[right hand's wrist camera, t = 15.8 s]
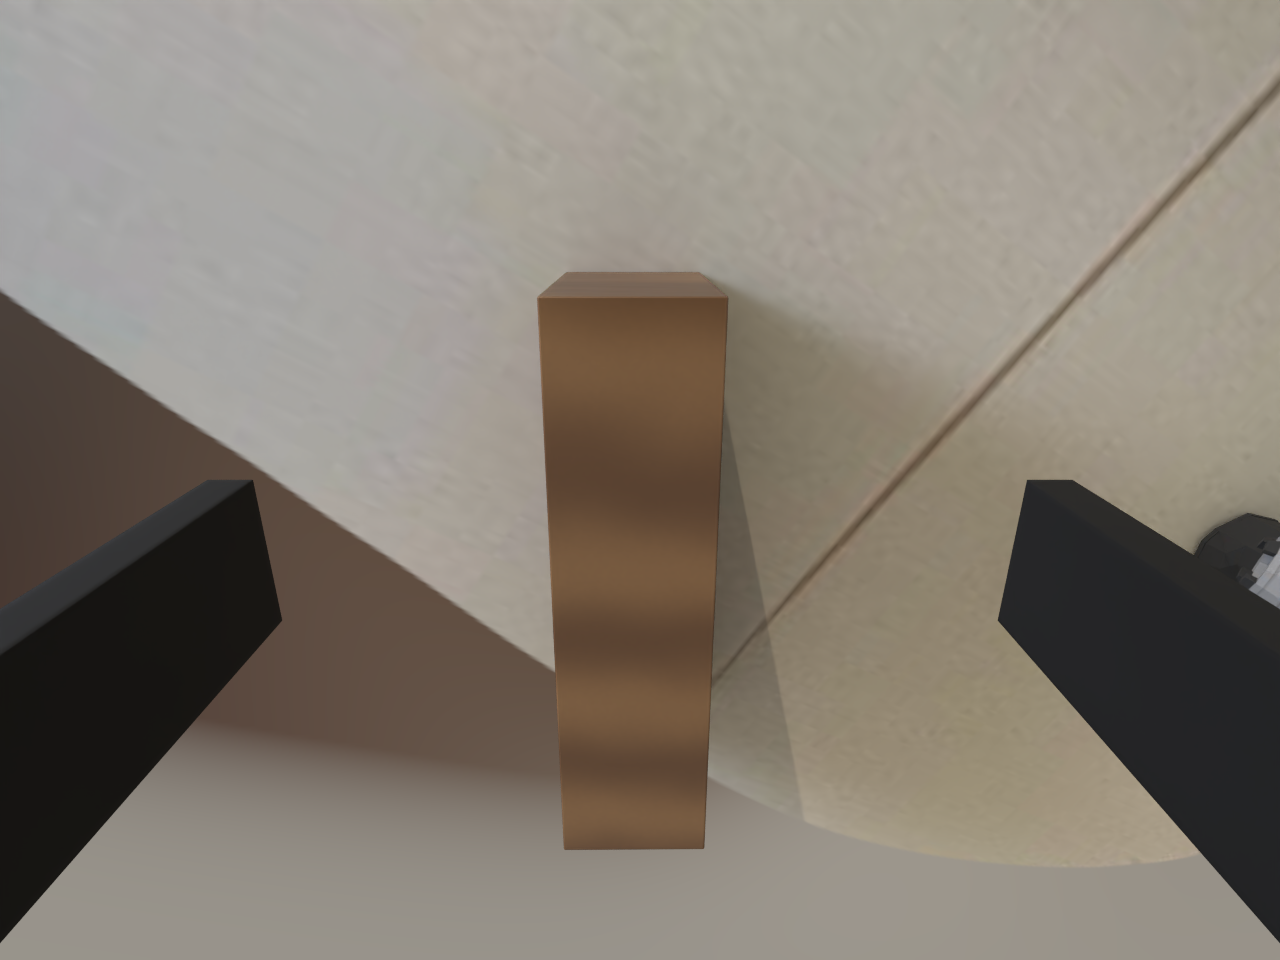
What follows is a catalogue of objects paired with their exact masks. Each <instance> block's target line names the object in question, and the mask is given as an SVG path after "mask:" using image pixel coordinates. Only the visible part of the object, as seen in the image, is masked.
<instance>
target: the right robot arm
mask: <svg viewBox="0 0 1280 960" xmlns="http://www.w3.org/2000/svg"><path fill="white" fill-rule="evenodd" d="M281 621H282V617H281V613H280V608H279V603H278V598H277V594H276V589H275V584H274V579H273V574H272V569H271V565H270V560H269V555H268V550H267V545H266V541H265V536H264V531H263V526H262V521H261V517H260V512H259V507H258V502H257V498H256V493H255V488H254V483H253V480H207V481H205V482H204V483H202V484H200V485H199V486H197V487H196V488H194V489H192V490H191V491H189V492H187V493H186V494H184V495H183V496H181V497H179V498H178V499H176V500H175V501H173V502H171V503H170V504H168V505H167V506H165V507H163V508H162V509H160V510H159V511H157V512H155V513H154V514H152V515H150V516H149V517H147V518H146V519H144V520H142V521H141V522H139V523H138V524H136V525H135V526H133V527H131V528H130V529H128V530H126V531H125V532H123V533H122V534H120V535H118V536H117V537H115V538H114V539H112V540H110V541H109V542H107V543H105V544H104V545H102V546H101V547H99V548H97V549H96V550H94V551H93V552H91V553H89V554H88V555H86V556H85V557H83V558H81V559H80V560H78V561H77V562H75V563H73V564H72V565H70V566H68V567H67V568H65V569H64V570H62V571H60V572H59V573H57V574H56V575H54V576H52V577H51V578H49V579H48V580H46V581H44V582H43V583H41V584H39V585H38V586H36V587H35V588H33V589H32V590H30V591H28V592H27V593H25V594H23V595H22V596H20V597H19V598H17V599H15V600H14V601H12V602H11V603H9V604H7V605H6V606H4V607H3V608H1V609H0V943H1V941H2V940H3V939H4V938H5V937H6V936H7V935H8V933H9V932H10V931H11V930H12V929H13V928H14V927H15V925H16V924H17V923H18V922H19V921H20V920H21V919H22V917H23V916H24V915H25V914H26V913H27V912H28V911H29V909H30V908H31V907H32V906H33V905H34V904H35V903H36V901H37V900H38V899H39V898H40V897H41V896H42V895H43V893H44V892H45V891H46V890H47V889H48V888H49V887H50V885H51V884H52V883H53V882H54V881H55V880H56V879H57V877H58V876H59V875H60V874H61V873H62V872H63V870H64V869H65V868H66V867H67V866H68V865H69V864H70V863H71V861H72V860H73V859H74V858H75V857H76V856H77V855H78V853H79V852H80V851H81V850H82V849H83V848H84V846H85V845H86V844H87V843H88V842H89V841H90V840H91V839H92V837H93V836H94V835H95V834H96V833H97V832H98V830H99V829H100V828H101V827H102V826H103V825H104V824H105V822H106V821H107V820H108V819H109V818H110V817H111V816H112V814H113V813H114V812H115V811H116V810H117V809H118V808H119V806H120V805H121V804H122V803H123V802H124V801H125V800H126V798H127V797H128V796H129V795H130V794H131V793H132V792H133V790H134V789H135V788H136V787H137V786H138V785H139V784H140V782H141V781H142V780H143V779H144V778H145V777H146V776H147V774H148V773H149V772H150V771H151V770H152V769H153V768H154V766H155V765H156V764H157V763H158V762H159V761H160V760H161V758H162V757H163V756H164V755H165V754H166V753H167V752H168V750H169V749H170V748H171V747H172V746H173V745H174V744H175V742H176V741H177V740H178V739H179V738H180V737H181V736H182V734H183V733H184V732H185V731H186V730H187V729H188V728H189V726H190V725H191V724H192V723H193V722H194V721H195V720H196V718H197V717H198V716H199V715H200V714H201V713H202V711H203V710H204V709H205V708H206V707H207V706H208V705H209V704H210V702H211V701H212V700H213V699H214V698H215V697H216V696H217V694H218V693H219V692H220V691H221V690H222V689H223V688H224V686H225V685H226V684H227V683H228V682H229V681H230V679H231V678H232V677H233V676H234V675H235V674H236V673H237V672H238V670H239V669H240V668H241V667H242V666H243V665H244V663H245V662H246V661H247V660H248V659H249V658H250V657H251V655H252V654H253V653H254V652H255V651H256V650H257V649H258V647H259V646H260V645H261V644H262V643H263V642H264V641H265V640H266V638H267V637H268V636H269V635H270V634H271V633H272V631H273V630H274V629H275V628H276V627H277V626H278V625H279V623H280V622H281ZM998 621H999V622H1000V623H1001V625H1002V626H1003V627H1004V628H1005V629H1006V630H1007V631H1008V633H1009V634H1010V635H1011V636H1012V637H1013V638H1014V639H1015V641H1016V642H1017V643H1018V644H1019V645H1020V646H1021V648H1022V649H1023V650H1024V651H1025V652H1026V653H1027V654H1028V656H1029V657H1030V658H1031V659H1032V660H1033V661H1034V662H1035V664H1036V665H1037V666H1038V667H1039V668H1040V669H1041V670H1042V672H1043V673H1044V674H1045V675H1046V676H1047V677H1048V678H1049V680H1050V681H1051V682H1052V683H1053V684H1054V685H1055V686H1056V688H1057V689H1058V690H1059V691H1060V692H1061V693H1062V694H1063V696H1064V697H1065V698H1066V699H1067V700H1068V701H1069V702H1070V704H1071V705H1072V706H1073V707H1074V708H1075V709H1076V710H1077V712H1078V713H1079V714H1080V715H1081V716H1082V717H1083V718H1084V720H1085V721H1086V722H1087V723H1088V724H1089V725H1090V726H1091V728H1092V729H1093V730H1094V731H1095V732H1096V733H1097V734H1098V736H1099V737H1100V738H1101V739H1102V740H1103V741H1104V742H1105V744H1106V745H1107V746H1108V747H1109V748H1110V749H1111V750H1112V752H1113V753H1114V754H1115V755H1116V756H1117V757H1118V758H1119V760H1120V761H1121V762H1122V763H1123V764H1124V765H1125V766H1126V768H1127V769H1128V770H1129V771H1130V772H1131V773H1132V774H1133V776H1134V777H1135V778H1136V779H1137V780H1138V781H1139V782H1140V784H1141V785H1142V786H1143V787H1144V788H1145V789H1146V790H1147V792H1148V793H1149V794H1150V795H1151V796H1152V797H1153V798H1154V800H1155V801H1156V802H1157V803H1158V804H1159V805H1160V806H1161V808H1162V809H1163V810H1164V811H1165V812H1166V813H1167V814H1168V816H1169V817H1170V818H1171V819H1172V820H1173V821H1174V823H1175V824H1176V825H1177V826H1178V827H1179V828H1180V829H1181V831H1182V832H1183V833H1184V834H1185V835H1186V836H1187V837H1188V839H1189V840H1190V841H1191V842H1192V843H1193V844H1194V845H1195V847H1196V848H1197V849H1198V850H1199V851H1200V852H1201V853H1202V855H1203V856H1204V857H1205V858H1206V859H1207V860H1208V861H1209V863H1210V864H1211V865H1212V866H1213V867H1214V868H1215V869H1216V871H1217V872H1218V873H1219V874H1220V875H1221V876H1222V877H1223V879H1224V880H1225V881H1226V882H1227V883H1228V884H1229V885H1230V887H1231V888H1232V889H1233V890H1234V891H1235V892H1236V893H1237V895H1238V896H1239V897H1240V898H1241V899H1242V900H1243V901H1244V903H1245V904H1246V905H1247V906H1248V907H1249V908H1250V909H1251V911H1252V912H1253V913H1254V914H1255V915H1256V916H1257V917H1258V919H1259V920H1260V921H1261V922H1262V923H1263V924H1264V925H1265V927H1266V928H1267V929H1268V930H1269V931H1270V932H1271V933H1272V935H1273V936H1274V937H1275V938H1276V939H1277V940H1278V941H1279V943H1280V609H1279V608H1278V607H1276V606H1274V605H1273V604H1271V603H1269V602H1268V601H1266V600H1265V599H1263V598H1261V597H1260V596H1258V595H1257V594H1255V593H1253V592H1252V591H1250V590H1249V589H1247V588H1245V587H1244V586H1242V585H1241V584H1239V583H1237V582H1236V581H1234V580H1232V579H1231V578H1229V577H1228V576H1226V575H1224V574H1223V573H1221V572H1220V571H1218V570H1216V569H1215V568H1213V567H1212V566H1210V565H1208V564H1207V563H1205V562H1204V561H1202V560H1200V559H1199V558H1197V557H1195V556H1194V555H1192V554H1191V553H1189V552H1187V551H1186V550H1184V549H1183V548H1181V547H1179V546H1178V545H1176V544H1175V543H1173V542H1171V541H1170V540H1168V539H1167V538H1165V537H1163V536H1162V535H1160V534H1158V533H1157V532H1155V531H1154V530H1152V529H1150V528H1149V527H1147V526H1146V525H1144V524H1142V523H1141V522H1139V521H1138V520H1136V519H1134V518H1133V517H1131V516H1130V515H1128V514H1126V513H1125V512H1123V511H1121V510H1120V509H1118V508H1117V507H1115V506H1113V505H1112V504H1110V503H1109V502H1107V501H1105V500H1104V499H1102V498H1101V497H1099V496H1097V495H1096V494H1094V493H1093V492H1091V491H1089V490H1088V489H1086V488H1084V487H1083V486H1081V485H1080V484H1078V483H1076V482H1075V481H1073V480H1027V483H1026V488H1025V493H1024V498H1023V502H1022V507H1021V512H1020V517H1019V521H1018V526H1017V531H1016V536H1015V541H1014V545H1013V550H1012V555H1011V560H1010V565H1009V569H1008V574H1007V579H1006V584H1005V589H1004V593H1003V598H1002V603H1001V608H1000V613H999V617H998Z"/></svg>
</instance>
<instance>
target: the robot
mask: <svg viewBox="0 0 1280 960" xmlns="http://www.w3.org/2000/svg"><path fill="white" fill-rule="evenodd" d="M1194 556H1195V557H1197V558H1199V559H1200V560H1202V561H1204V562H1205V563H1207V564H1208V565H1210V566H1212V567H1213V568H1215V569H1216V570H1218V571H1220V572H1221V573H1223V574H1224V575H1226V576H1228V577H1229V578H1231V579H1232V580H1234V581H1236V582H1237V583H1239V584H1241V585H1242V586H1244V587H1245V588H1247V589H1249V590H1250V591H1252V592H1253V593H1255V594H1257V595H1258V596H1260V597H1261V598H1263V599H1265V600H1266V601H1268V602H1269V603H1271V604H1273V605H1274V606H1276V607H1278V608H1279V609H1280V523H1279V522H1278V521H1277V520H1275V519H1272V518H1267V517H1263V516H1259V515H1254V514H1250V513H1247V514H1245V515H1243V516H1241V517H1239V518H1237V519H1234V520H1232V521H1230V522H1228V523H1226V524H1224V525H1222V526H1220V527H1218V528H1216V529H1214V530H1213V531H1212V532H1211V533H1210V534H1209V535H1207V536H1206V537H1205V538H1204V539H1203V540H1202V541H1201V543H1200V545H1199V547H1198V549H1197V551H1196V553H1195V555H1194Z"/></svg>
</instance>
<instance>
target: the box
mask: <svg viewBox="0 0 1280 960" xmlns="http://www.w3.org/2000/svg"><path fill="white" fill-rule="evenodd" d="M537 303H538V324H539V345H540V365H541V386H542V406H543V427H544V447H545V468H546V489H547V509H548V530H549V550H550V571H551V592H552V612H553V633H554V653H555V674H556V694H557V714H558V735H559V756H560V777H561V797H562V817H563V838H564V849H565V850H608V849H609V850H610V849H611V850H612V849H704V840H705V817H706V794H707V772H708V749H709V726H710V704H711V681H712V658H713V635H714V613H715V590H716V567H717V544H718V521H719V499H720V476H721V453H722V430H723V408H724V385H725V362H726V339H727V316H728V297H727V296H726V295H725V294H724V293H723V292H722V291H720V290H719V289H718V288H717V287H716V286H715V285H713V284H712V283H711V282H710V281H709V280H708V279H707V278H705V277H704V276H703V275H702V274H701V273H699V272H567V273H565V274H564V275H563V276H562V277H560V278H559V279H558V280H557V281H556V282H555V283H553V284H552V285H551V286H550V287H549V288H548V289H546V290H545V291H544V292H543V293H542V294H540V295H539V296H538V298H537Z"/></svg>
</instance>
